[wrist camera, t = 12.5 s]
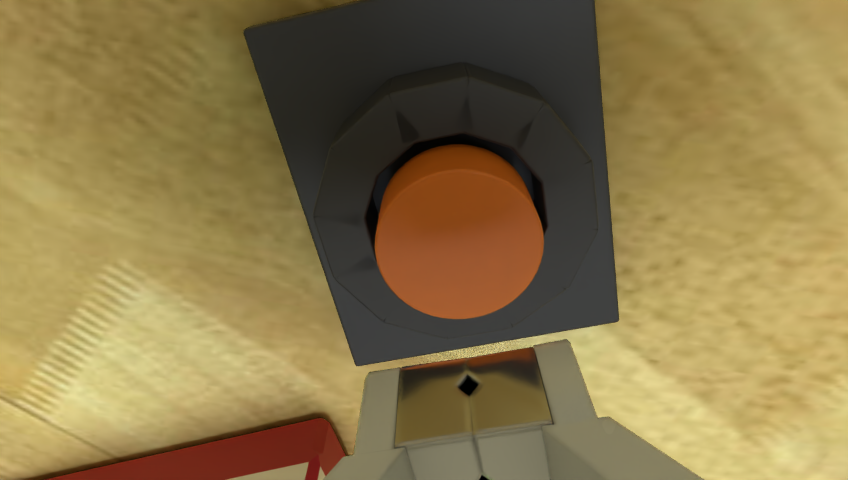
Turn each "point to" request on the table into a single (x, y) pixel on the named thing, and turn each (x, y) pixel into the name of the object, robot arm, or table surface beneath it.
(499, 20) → the box
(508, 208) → the button
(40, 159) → the table surface
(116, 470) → the toy truck
